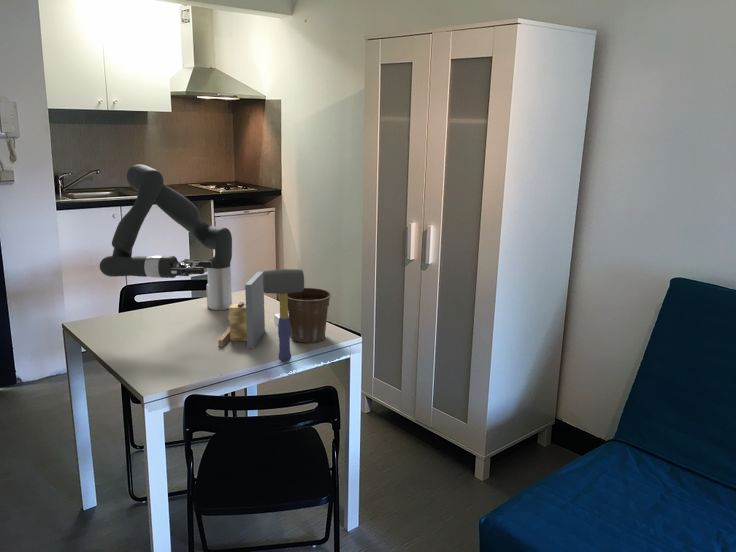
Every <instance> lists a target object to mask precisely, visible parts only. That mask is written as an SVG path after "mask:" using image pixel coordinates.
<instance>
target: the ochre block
mask: <svg viewBox="0 0 736 552" xmlns="http://www.w3.org/2000/svg"><path fill="white" fill-rule="evenodd" d="M228 318H229V320H228V322H229V327H230V339H229V341H233V342H236V341H237V342H238V341H239V342H247V323H246V303H244V302H243V301H240V302H239V303H235V302H232V305H231V306H230V307H229V309H228Z"/></svg>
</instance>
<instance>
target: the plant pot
mask: <svg viewBox="0 0 736 552" xmlns="http://www.w3.org/2000/svg"><path fill="white" fill-rule="evenodd" d="M331 297H332V292H331V291H329V290H326V289H322V288H317V287H304V290H303V291H302V292H294V293H288V314H289V321H290V339H292V340H293V341H295V342H297V343H301V342H303V343H305V344H310V343H311V344H312V343H313V342H314V343H318V342H321V341H323V340H324V339H325V338H326V330H327V322H328V321H327V319H328V310H329V307H330V301H331V300H330V299H331ZM314 343H313V344H314Z"/></svg>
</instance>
